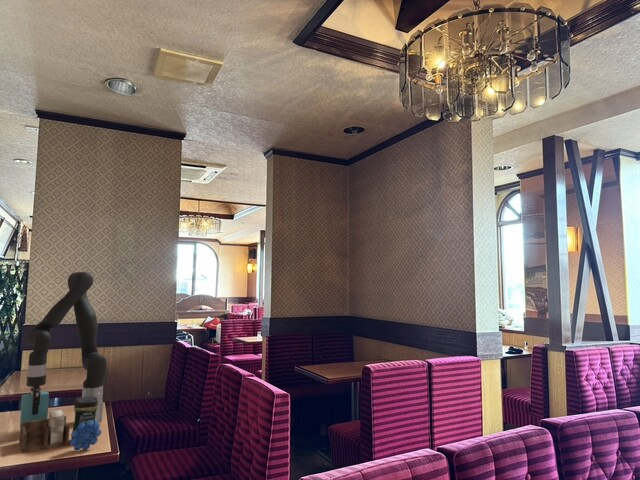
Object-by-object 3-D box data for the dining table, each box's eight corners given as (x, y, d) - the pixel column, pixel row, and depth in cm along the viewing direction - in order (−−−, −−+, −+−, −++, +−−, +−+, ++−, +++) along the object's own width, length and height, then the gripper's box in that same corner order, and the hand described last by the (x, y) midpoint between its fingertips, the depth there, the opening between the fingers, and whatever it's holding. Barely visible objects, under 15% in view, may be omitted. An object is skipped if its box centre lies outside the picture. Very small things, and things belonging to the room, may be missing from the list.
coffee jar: (71, 445, 191) (74, 400, 193) (70, 439, 198) (74, 396, 200) (96, 441, 196) (99, 398, 198) (95, 436, 203) (98, 394, 205)
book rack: (64, 435, 202) (66, 408, 204) (69, 444, 191) (71, 416, 192) (19, 442, 192) (21, 414, 193) (21, 453, 181) (24, 422, 182)
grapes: (99, 444, 193) (101, 415, 194) (100, 449, 187) (102, 420, 188) (68, 448, 187) (71, 419, 188) (69, 454, 181) (71, 423, 182)
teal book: (19, 426, 200) (21, 394, 201) (45, 422, 206) (47, 391, 207) (20, 429, 196) (22, 396, 198) (46, 425, 203) (48, 393, 204)
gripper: (48, 376, 200) (45, 415, 198) (44, 370, 211) (42, 407, 210) (28, 378, 195) (25, 418, 194) (25, 372, 207) (23, 410, 205)
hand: (34, 412), depth 202 cm, fingers closed on teal book, 4 cm apart
